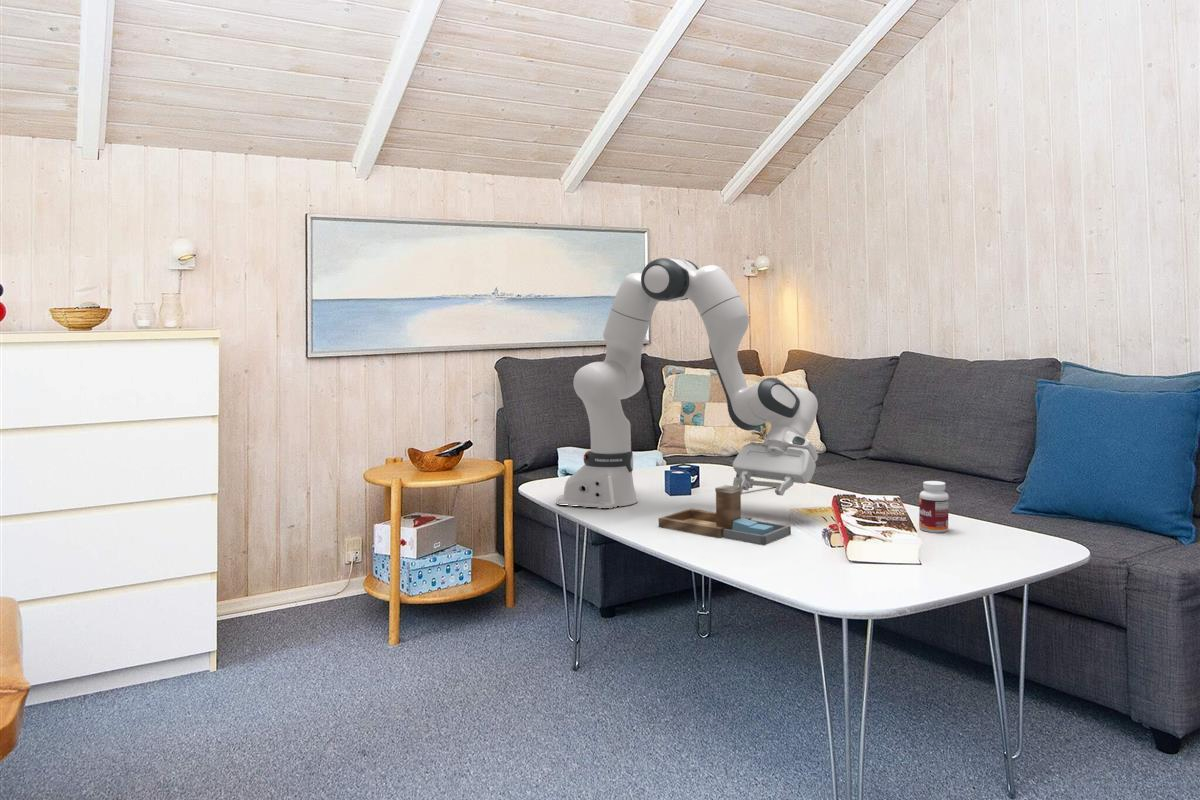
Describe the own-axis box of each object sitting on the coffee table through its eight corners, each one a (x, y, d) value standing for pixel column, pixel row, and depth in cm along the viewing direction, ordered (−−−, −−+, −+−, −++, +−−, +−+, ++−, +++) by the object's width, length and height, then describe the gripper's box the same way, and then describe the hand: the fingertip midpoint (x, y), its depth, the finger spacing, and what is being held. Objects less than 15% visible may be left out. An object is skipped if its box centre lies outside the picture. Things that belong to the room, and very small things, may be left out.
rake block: (715, 531, 179) (715, 487, 179) (725, 527, 183) (725, 484, 182) (731, 534, 177) (731, 489, 176) (741, 530, 180) (741, 486, 179)
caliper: (735, 496, 225) (735, 474, 224) (732, 495, 226) (732, 473, 225) (784, 487, 237) (784, 466, 236) (781, 486, 238) (781, 465, 237)
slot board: (658, 531, 185) (658, 518, 185) (691, 521, 195) (690, 508, 194) (720, 543, 174) (720, 529, 173) (751, 531, 183) (751, 518, 183)
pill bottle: (913, 527, 184) (914, 480, 183) (937, 526, 185) (938, 479, 184) (929, 534, 178) (929, 485, 177) (954, 532, 179) (954, 484, 178)
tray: (723, 542, 174) (723, 529, 174) (751, 532, 183) (751, 519, 182) (763, 550, 167) (763, 536, 167) (790, 539, 176) (790, 526, 176)
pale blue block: (731, 534, 177) (732, 521, 176) (740, 530, 180) (742, 517, 179) (747, 538, 174) (748, 525, 174) (756, 535, 177) (757, 522, 177)
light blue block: (748, 540, 174) (748, 527, 174) (757, 536, 177) (757, 523, 177) (764, 543, 171) (764, 529, 171) (773, 539, 174) (773, 526, 174)
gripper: (741, 434, 199) (719, 478, 193) (815, 441, 185) (794, 488, 179) (751, 449, 203) (729, 493, 196) (824, 457, 189) (803, 504, 182)
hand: (760, 491), depth 188 cm, fingers open, 8 cm apart
